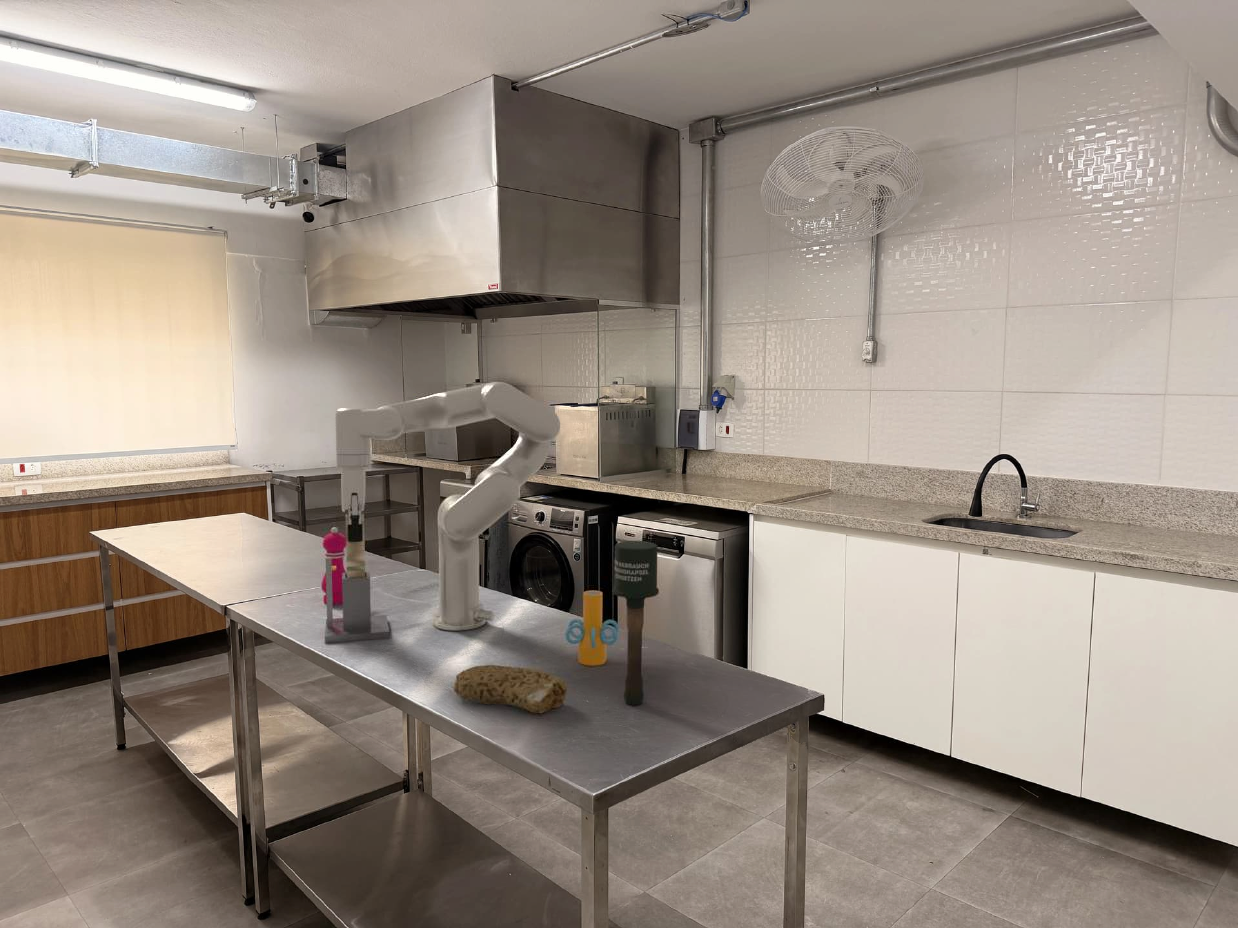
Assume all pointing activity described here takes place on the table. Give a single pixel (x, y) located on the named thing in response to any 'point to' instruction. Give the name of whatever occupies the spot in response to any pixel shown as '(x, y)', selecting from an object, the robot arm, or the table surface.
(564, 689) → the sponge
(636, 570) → the stick grenade
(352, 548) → the post
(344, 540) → the pepper mill
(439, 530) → the robot arm
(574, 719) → the table surface
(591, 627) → the orange tube with rings
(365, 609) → the grey socket stand
